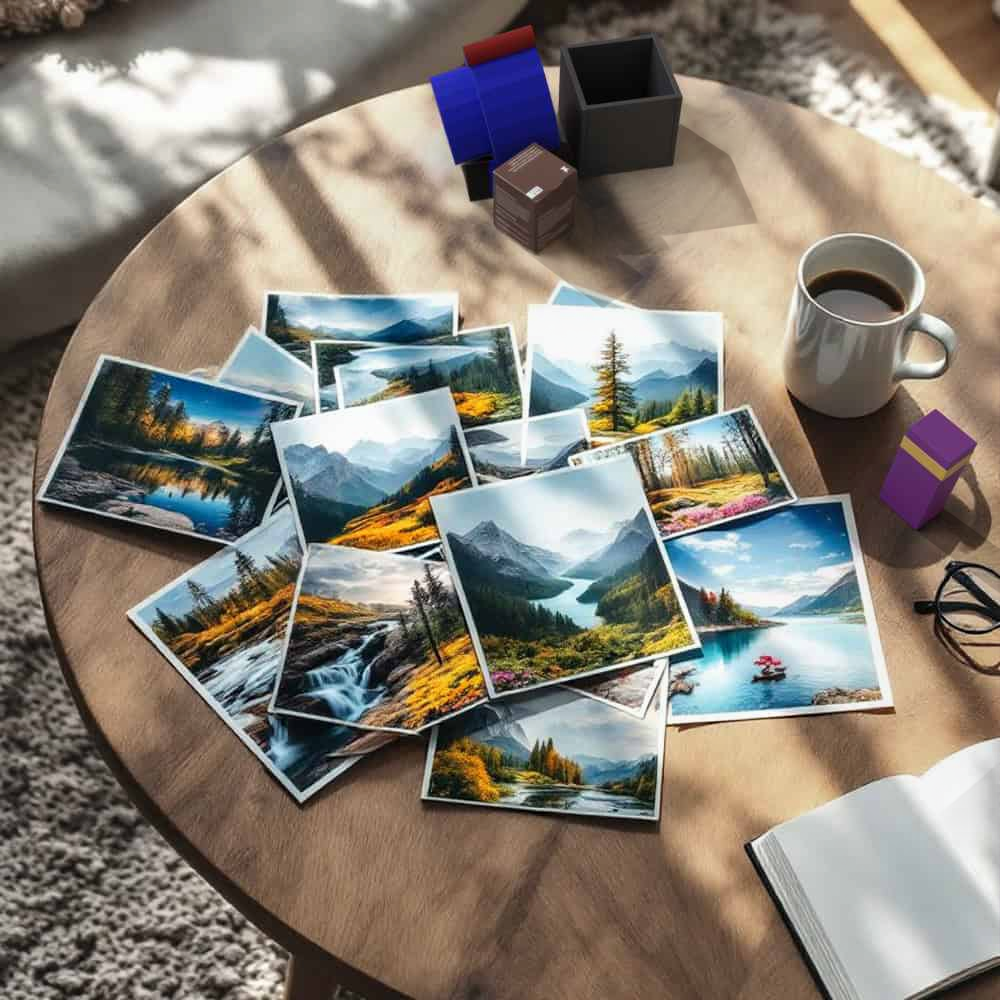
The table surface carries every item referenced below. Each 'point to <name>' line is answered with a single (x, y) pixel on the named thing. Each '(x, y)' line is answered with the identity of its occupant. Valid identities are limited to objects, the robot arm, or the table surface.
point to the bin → (618, 105)
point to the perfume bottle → (926, 468)
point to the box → (534, 197)
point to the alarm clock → (495, 106)
